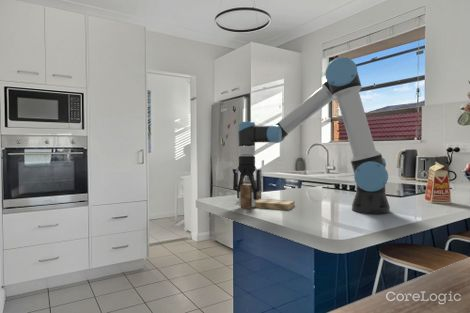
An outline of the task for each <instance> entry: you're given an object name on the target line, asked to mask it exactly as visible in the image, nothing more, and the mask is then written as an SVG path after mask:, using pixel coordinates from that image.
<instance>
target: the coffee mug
mask: <svg viewBox="0 0 470 313" xmlns="http://www.w3.org/2000/svg"><path fill="white" fill-rule="evenodd" d="M254 180H255V183H256V179H254ZM243 184H251V182H250V179H244V181H243ZM256 187H257V183H256ZM258 194H260V198H258V199H262V189H261V190H260V191H258Z"/></svg>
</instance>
